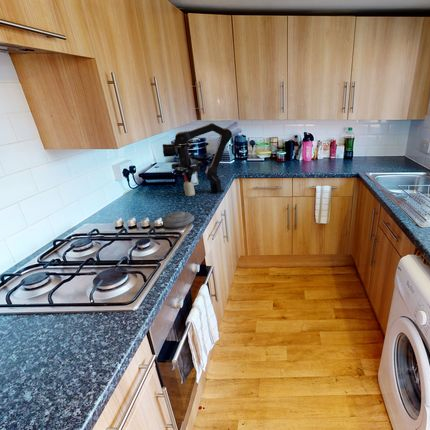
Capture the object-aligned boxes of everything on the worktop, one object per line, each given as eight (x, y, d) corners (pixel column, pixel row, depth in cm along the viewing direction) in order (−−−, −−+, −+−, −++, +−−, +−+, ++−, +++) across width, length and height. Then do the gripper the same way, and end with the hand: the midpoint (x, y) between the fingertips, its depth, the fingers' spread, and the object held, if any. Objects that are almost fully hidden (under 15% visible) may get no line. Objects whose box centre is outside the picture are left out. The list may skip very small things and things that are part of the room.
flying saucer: (156, 230, 128) (154, 219, 126) (167, 217, 142) (165, 207, 140) (191, 229, 129) (189, 218, 127) (197, 215, 143) (196, 205, 141)
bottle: (196, 194, 173) (194, 175, 168) (189, 196, 169) (185, 177, 164) (191, 192, 176) (188, 174, 171) (183, 194, 172) (180, 176, 167)
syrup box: (191, 186, 186) (188, 164, 181) (186, 184, 190) (182, 163, 184) (199, 184, 191) (195, 162, 185) (193, 182, 194) (190, 161, 188)
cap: (192, 180, 169) (191, 174, 168) (187, 181, 167) (186, 175, 165) (188, 179, 171) (187, 173, 170) (183, 180, 169) (182, 174, 167)
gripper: (205, 154, 164) (209, 180, 171) (184, 151, 174) (188, 176, 180) (189, 158, 156) (194, 185, 162) (168, 154, 165) (173, 180, 172)
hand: (187, 181), depth 169 cm, fingers closed on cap, 3 cm apart
